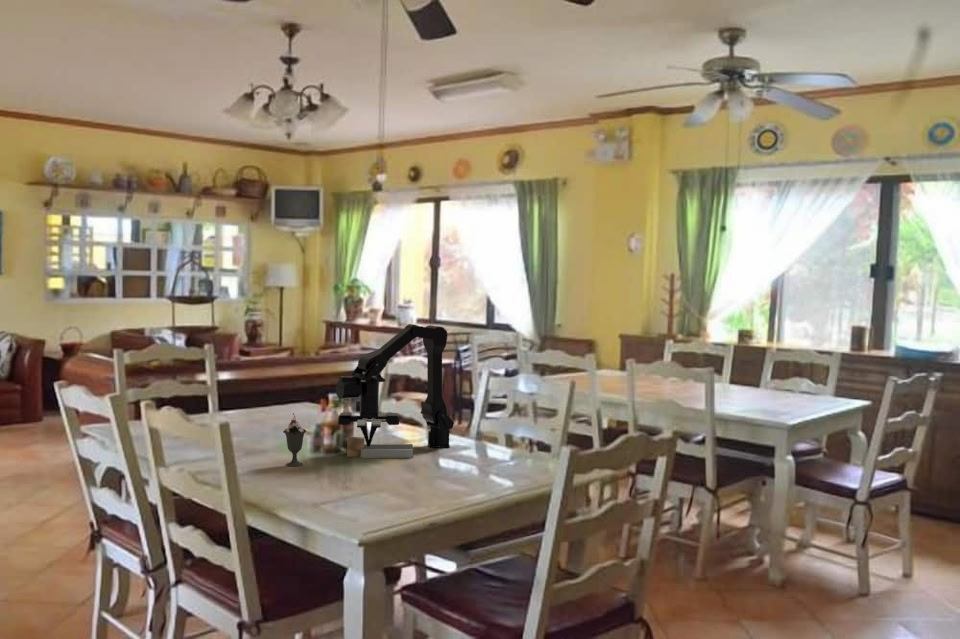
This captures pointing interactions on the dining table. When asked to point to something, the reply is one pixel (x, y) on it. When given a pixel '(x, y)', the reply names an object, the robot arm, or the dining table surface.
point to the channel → (387, 451)
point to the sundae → (294, 441)
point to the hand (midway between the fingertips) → (368, 446)
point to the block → (355, 446)
